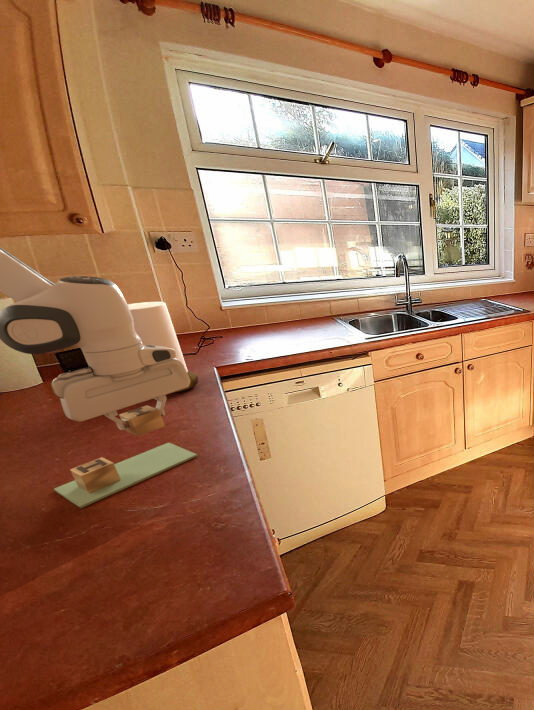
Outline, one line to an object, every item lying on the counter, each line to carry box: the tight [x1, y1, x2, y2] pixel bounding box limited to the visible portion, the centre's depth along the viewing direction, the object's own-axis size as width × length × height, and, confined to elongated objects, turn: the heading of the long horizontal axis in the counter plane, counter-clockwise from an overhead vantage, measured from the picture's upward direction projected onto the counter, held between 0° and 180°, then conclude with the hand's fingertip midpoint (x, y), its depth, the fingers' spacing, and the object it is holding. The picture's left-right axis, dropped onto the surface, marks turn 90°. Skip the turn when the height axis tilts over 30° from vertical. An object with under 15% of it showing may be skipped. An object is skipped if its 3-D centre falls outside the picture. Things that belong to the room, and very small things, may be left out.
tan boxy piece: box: [118, 405, 166, 437], centre depth 89 cm, size 5×5×4 cm
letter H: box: [69, 456, 121, 493], centre depth 83 cm, size 5×5×4 cm
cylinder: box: [127, 301, 189, 372], centre depth 132 cm, size 12×12×25 cm
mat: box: [53, 442, 198, 509], centre depth 88 cm, size 20×12×1 cm, turn 152°
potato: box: [172, 371, 200, 394], centre depth 128 cm, size 8×13×8 cm, turn 130°
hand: (143, 422), depth 89 cm, fingers closed on tan boxy piece, 5 cm apart
